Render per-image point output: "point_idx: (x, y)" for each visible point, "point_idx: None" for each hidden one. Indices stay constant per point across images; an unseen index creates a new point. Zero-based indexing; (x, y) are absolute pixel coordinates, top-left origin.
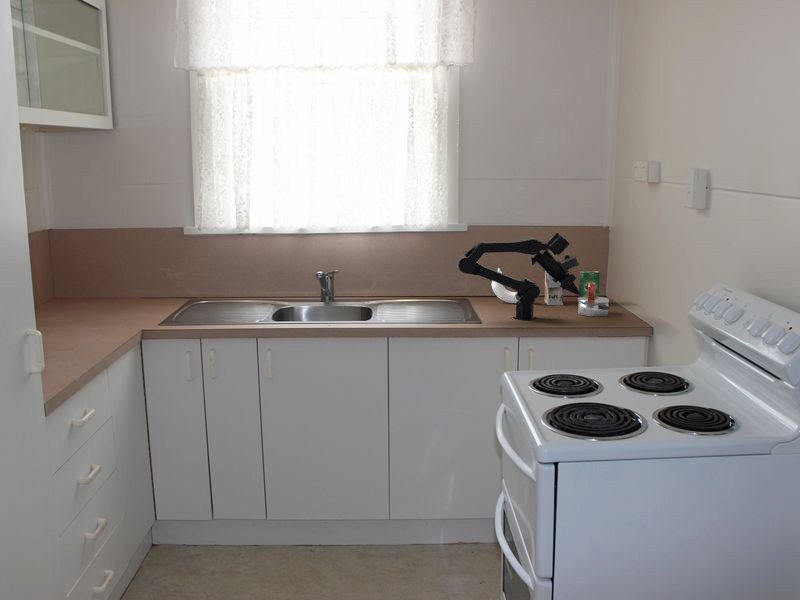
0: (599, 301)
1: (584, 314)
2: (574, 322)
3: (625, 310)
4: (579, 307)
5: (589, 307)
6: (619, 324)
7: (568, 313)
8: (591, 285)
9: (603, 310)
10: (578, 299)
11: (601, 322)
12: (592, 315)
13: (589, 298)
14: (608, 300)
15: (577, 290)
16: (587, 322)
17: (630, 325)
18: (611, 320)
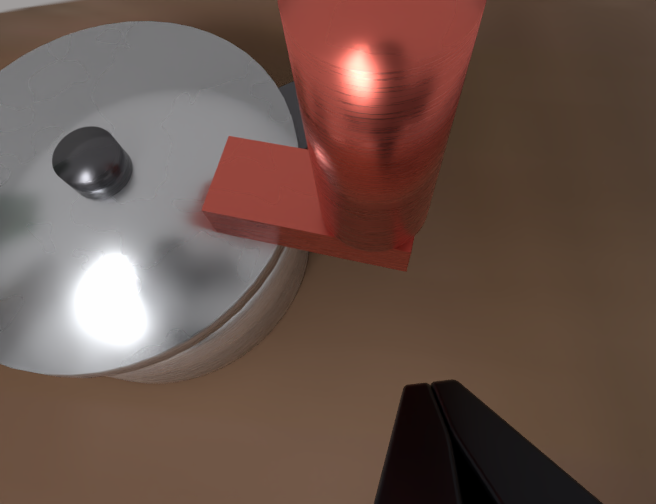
0: (257, 119)
1: (267, 329)
2: (650, 486)
3: (64, 4)
4: (169, 368)
5: (284, 259)
6: (613, 81)
7: (152, 497)
8: (475, 31)
9: None
10: (101, 371)
11: (568, 208)
12: (306, 256)
13: (420, 220)
14: (194, 29)
15: (513, 440)
16: (606, 338)
17: (627, 14)
18: (459, 123)
